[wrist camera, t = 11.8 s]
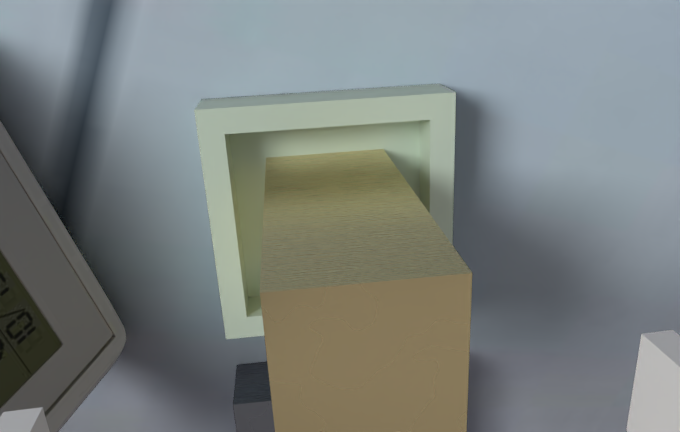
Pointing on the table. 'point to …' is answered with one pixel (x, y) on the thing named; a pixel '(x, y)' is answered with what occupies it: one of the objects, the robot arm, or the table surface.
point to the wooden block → (360, 300)
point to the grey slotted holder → (253, 399)
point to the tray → (303, 139)
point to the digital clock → (47, 303)
